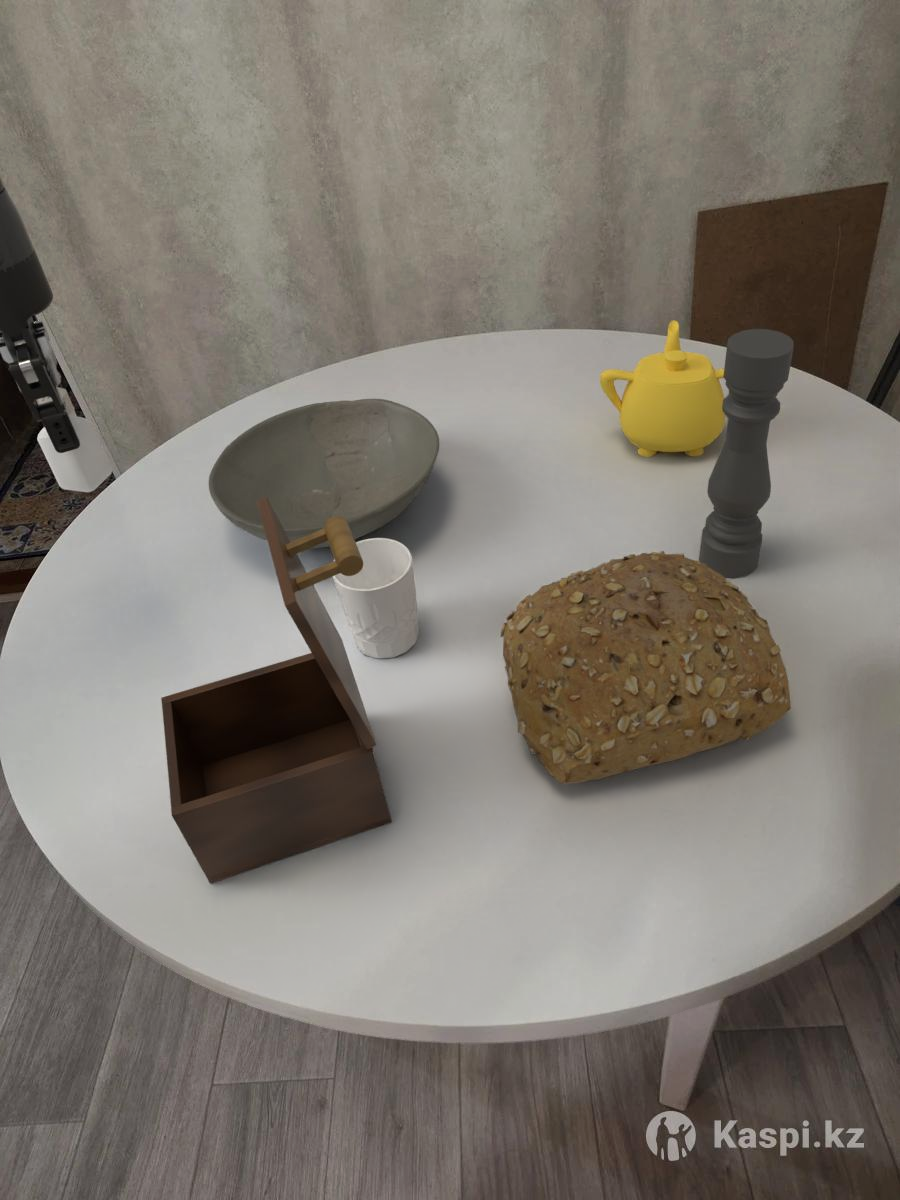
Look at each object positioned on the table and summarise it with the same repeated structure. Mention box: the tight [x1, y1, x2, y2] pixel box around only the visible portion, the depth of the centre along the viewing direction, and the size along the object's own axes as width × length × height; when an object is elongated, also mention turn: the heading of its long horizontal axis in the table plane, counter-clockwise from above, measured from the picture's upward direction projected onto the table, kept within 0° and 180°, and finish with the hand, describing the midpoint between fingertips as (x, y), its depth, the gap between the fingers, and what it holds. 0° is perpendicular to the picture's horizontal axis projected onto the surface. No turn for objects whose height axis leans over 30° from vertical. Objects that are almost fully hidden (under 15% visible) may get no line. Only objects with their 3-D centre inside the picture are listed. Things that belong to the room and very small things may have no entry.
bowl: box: [208, 398, 440, 549], centre depth 105 cm, size 27×28×8 cm
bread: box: [500, 550, 792, 784], centre depth 77 cm, size 24×21×12 cm
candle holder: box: [698, 328, 795, 579], centre depth 85 cm, size 6×6×25 cm
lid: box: [257, 497, 377, 749], centre depth 65 cm, size 16×13×6 cm
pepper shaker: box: [36, 387, 113, 493], centre depth 82 cm, size 4×4×10 cm
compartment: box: [160, 652, 393, 884], centre depth 73 cm, size 16×13×10 cm
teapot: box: [599, 319, 729, 458], centre depth 108 cm, size 14×14×12 cm
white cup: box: [332, 537, 420, 660], centre depth 87 cm, size 8×8×10 cm
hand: (66, 434), depth 82 cm, fingers closed on pepper shaker, 5 cm apart
